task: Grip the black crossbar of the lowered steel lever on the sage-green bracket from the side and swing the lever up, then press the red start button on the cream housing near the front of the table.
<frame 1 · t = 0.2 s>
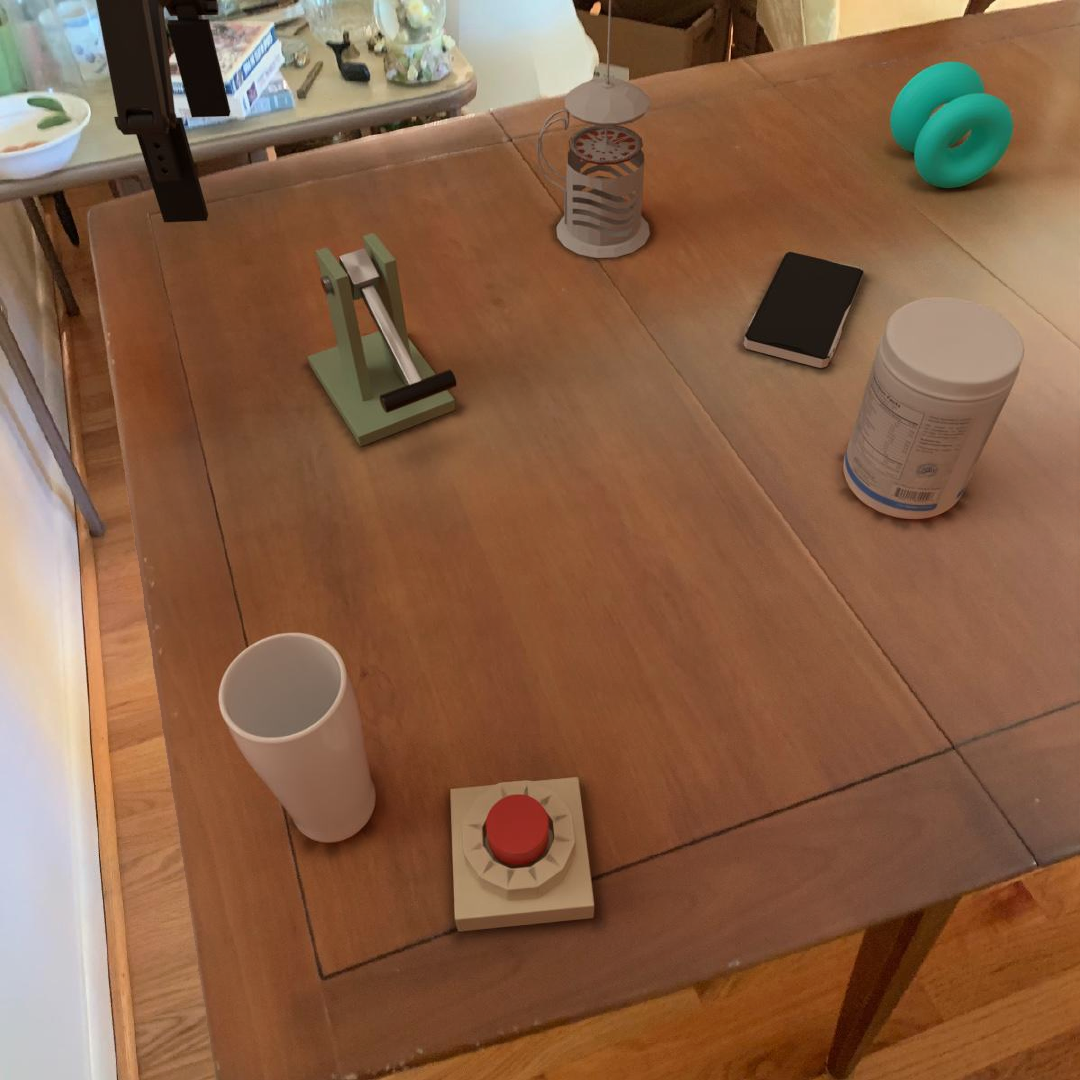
hand: (199, 163, 67), 23 cm above the table, tool pointing down, fingers open, 13 cm apart
french press: (594, 231, 102), on the table
bracket: (381, 387, 87), on the table
supplement tub: (899, 481, 79), on the table
drinking glass: (335, 806, 62), on the table
button: (517, 829, 56), point 4 cm above the table, slide at 0.1 cm
button box: (520, 858, 60), on the table
lever: (386, 328, 77), point 10 cm above the table, hinge at -25.0°
smartphone: (803, 313, 93), on the table
donuts: (935, 170, 108), on the table
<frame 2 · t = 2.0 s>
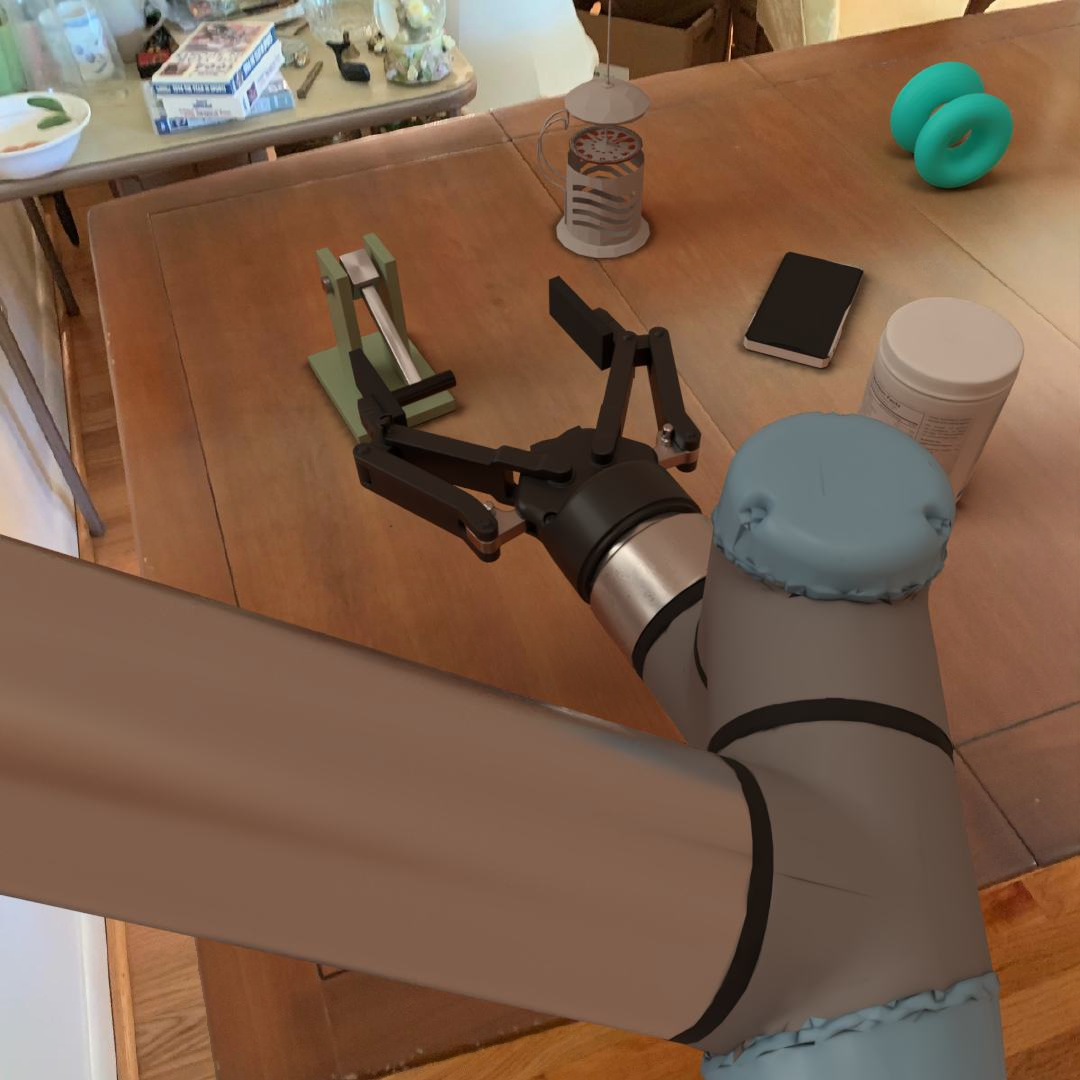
hand: (458, 329, 61), 20 cm above the table, tool horizontal, fingers open, 13 cm apart
nothing on the table moved.
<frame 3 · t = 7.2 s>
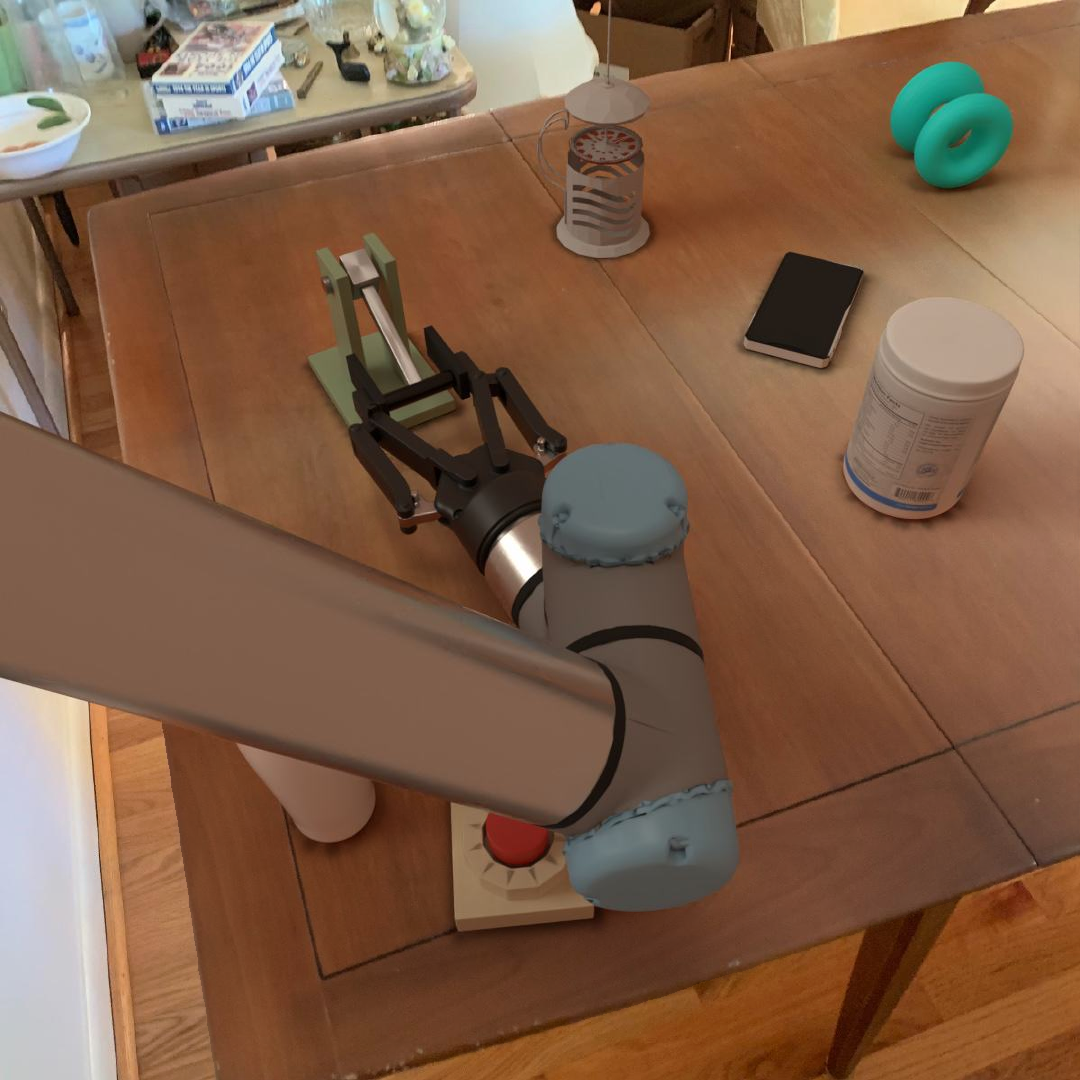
hand: (391, 354, 79), 7 cm above the table, tool horizontal, fingers closed on lever, 6 cm apart
lever: (386, 328, 77), point 10 cm above the table, hinge at -25.0°, touching gripper
everything else where it was.
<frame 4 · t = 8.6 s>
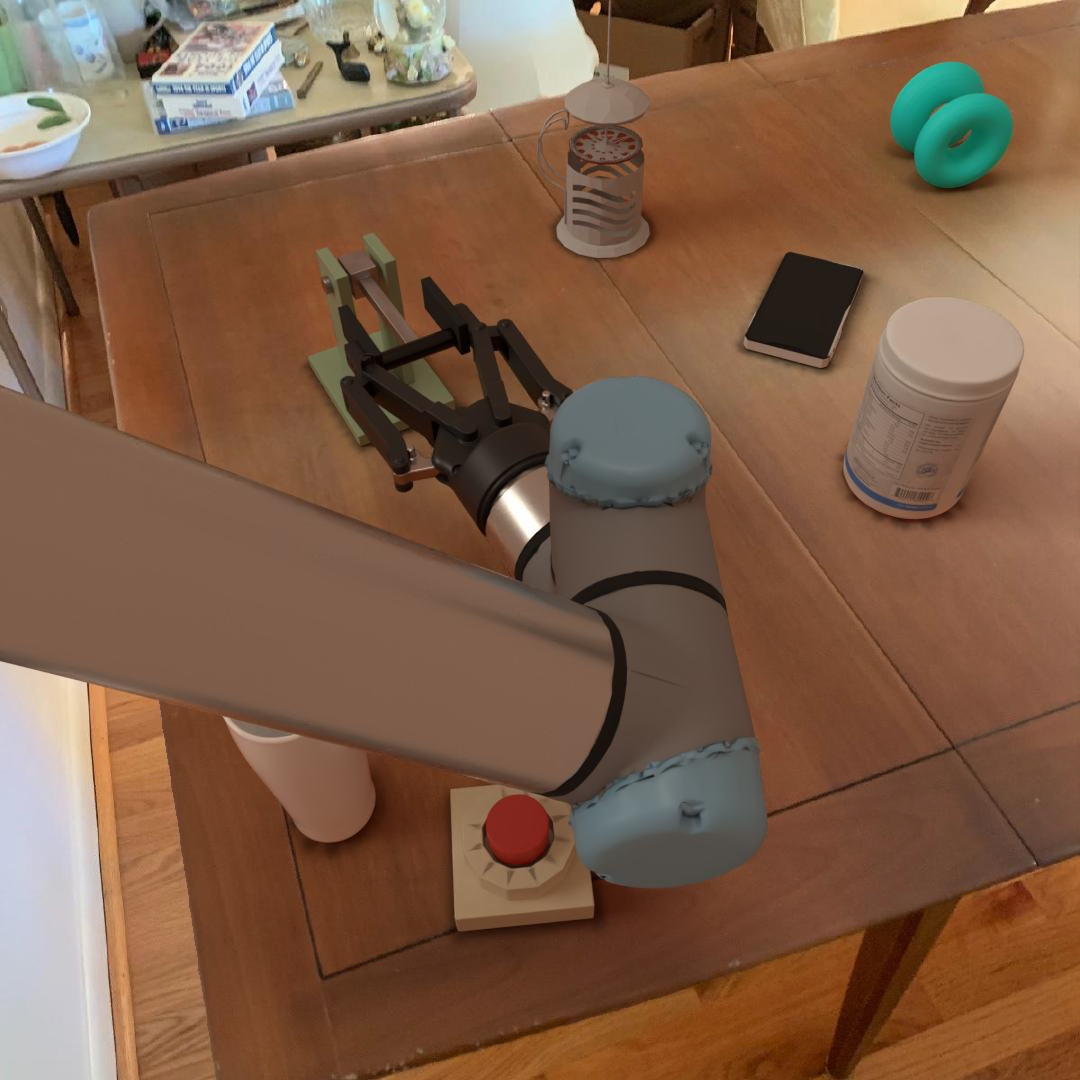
hand: (387, 306, 74), 13 cm above the table, tool horizontal, fingers closed on lever, 6 cm apart
lever: (384, 308, 75), point 12 cm above the table, hinge at 0.9°, touching gripper
everything else where it was.
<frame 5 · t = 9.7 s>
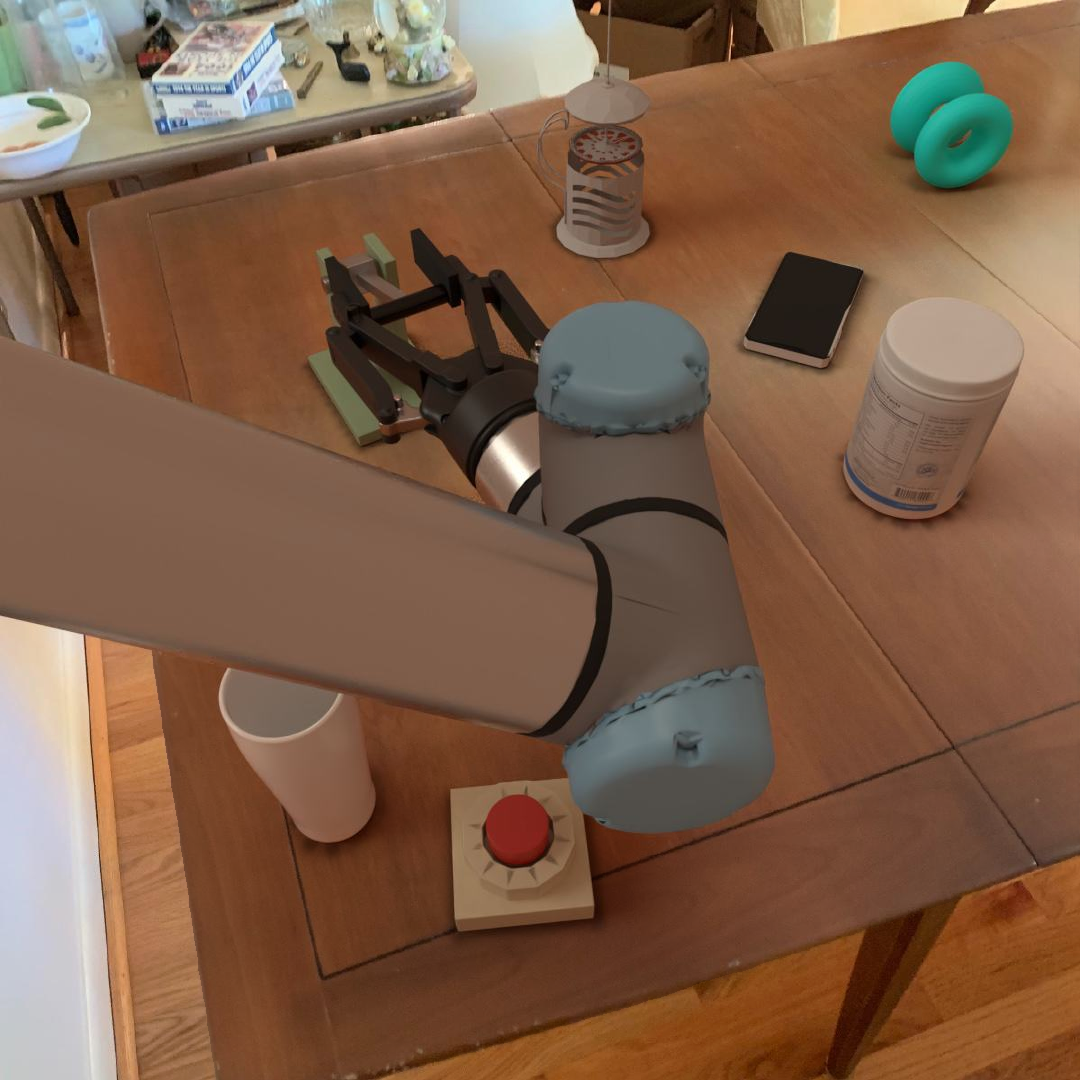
hand: (375, 259, 71), 16 cm above the table, tool horizontal, fingers closed on lever, 6 cm apart
lever: (380, 288, 74), point 14 cm above the table, hinge at 19.5°, touching gripper
everything else where it was.
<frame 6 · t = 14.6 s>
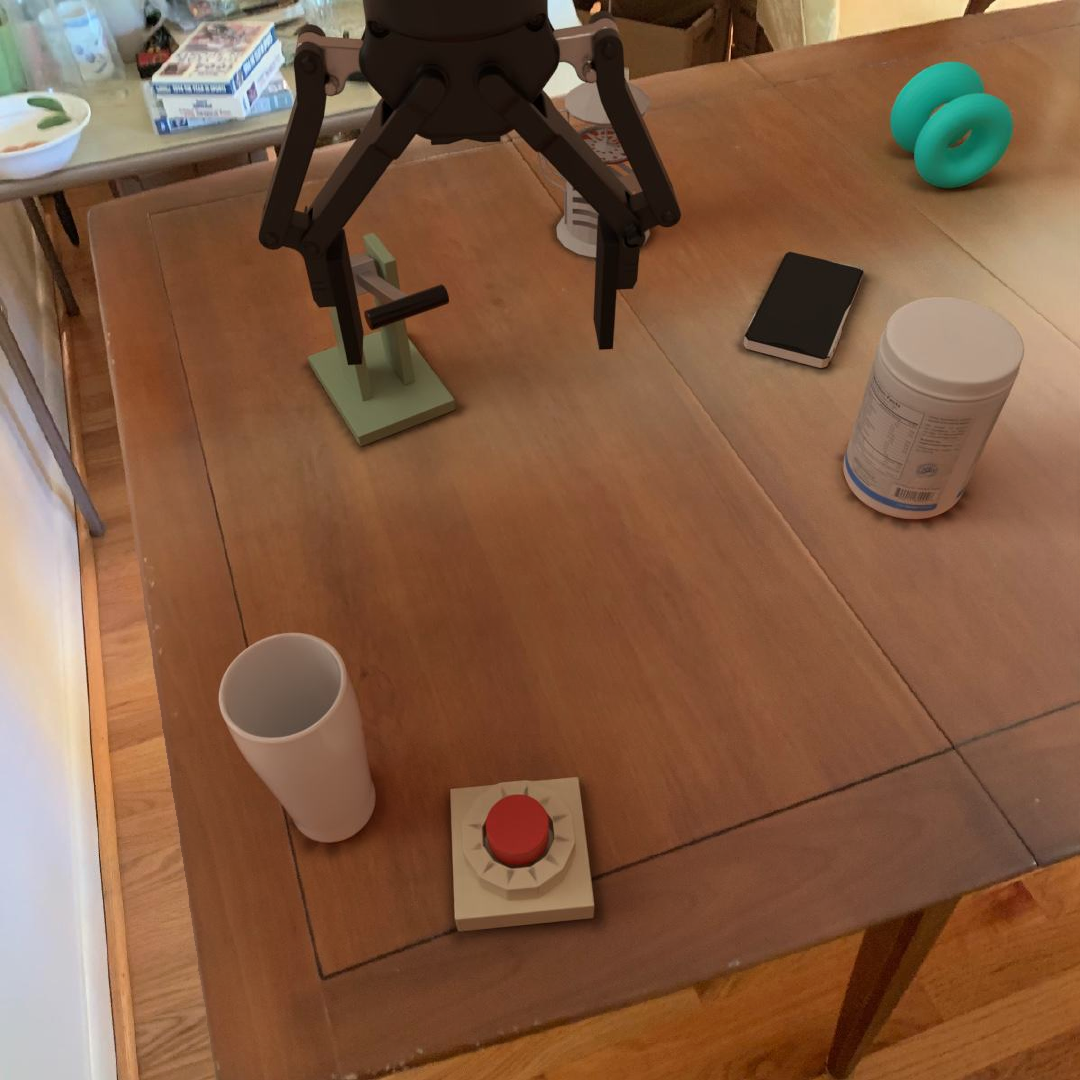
hand: (480, 341, 53), 24 cm above the table, tool pointing down, fingers open, 13 cm apart
lever: (380, 288, 74), point 14 cm above the table, hinge at 19.2°
everything else where it was.
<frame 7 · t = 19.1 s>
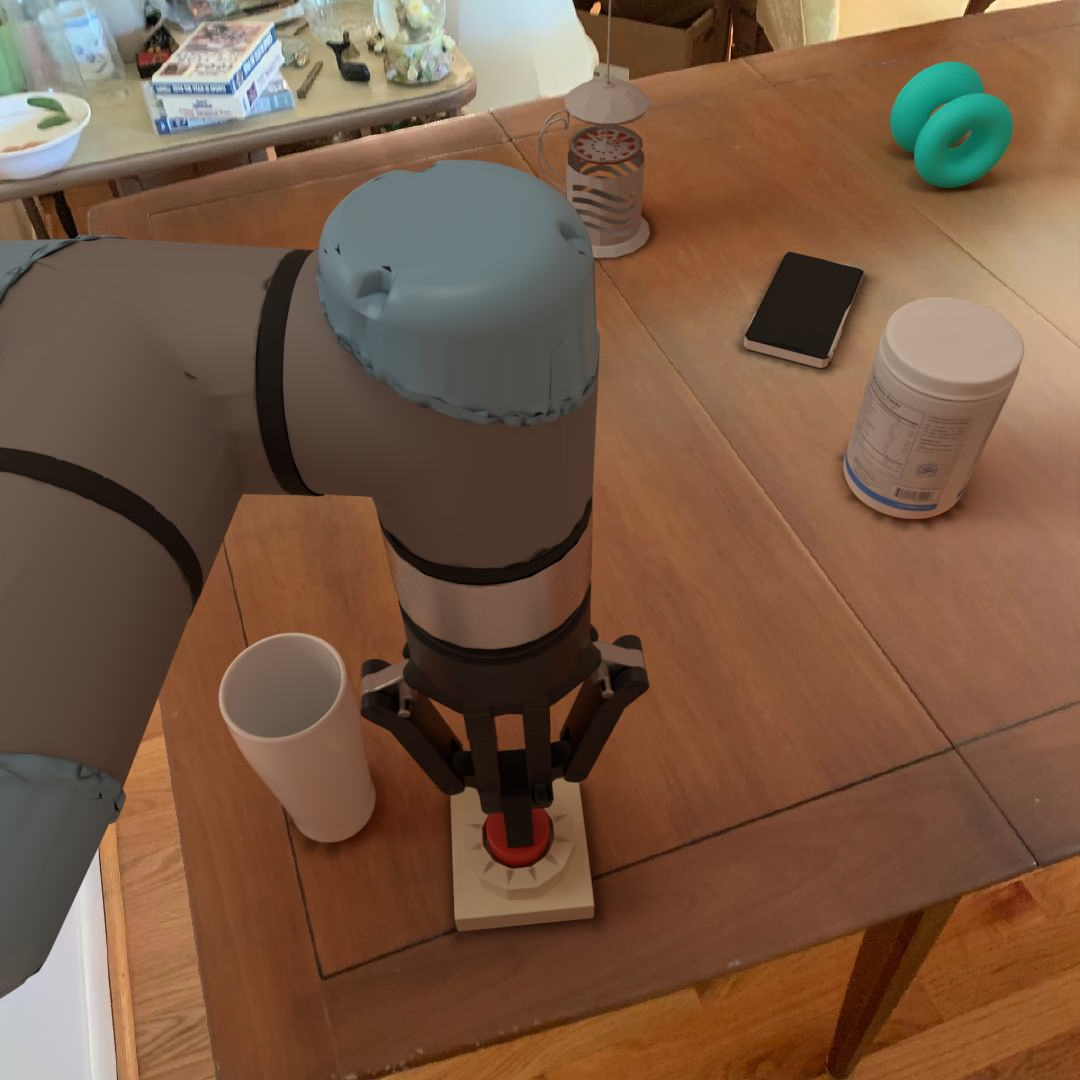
hand: (519, 823, 55), 5 cm above the table, tool pointing down, fingers closed
button: (518, 831, 56), point 4 cm above the table, slide at -0.2 cm, touching gripper
everything else where it was.
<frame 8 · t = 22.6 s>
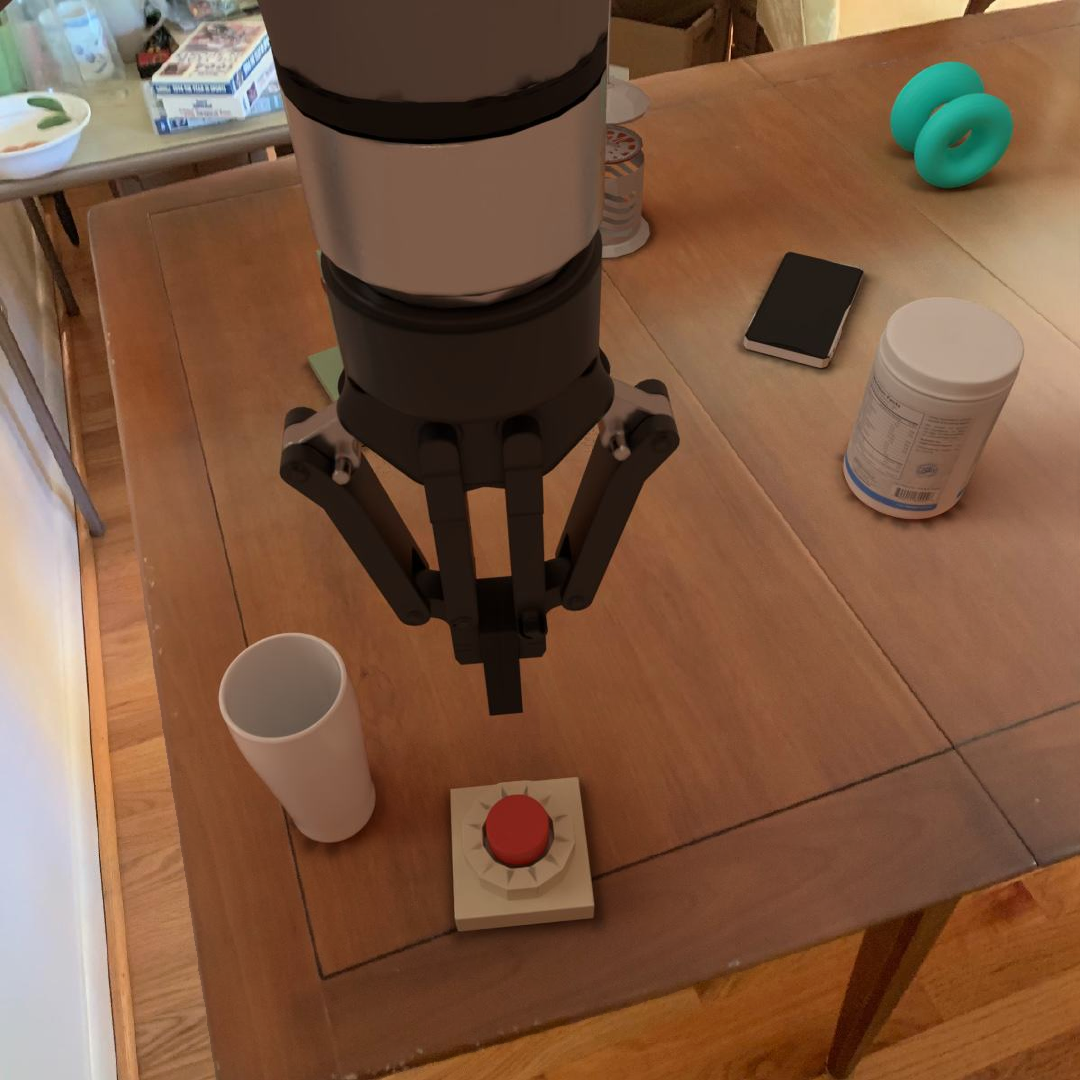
hand: (504, 687, 44), 20 cm above the table, tool pointing down, fingers closed
button: (517, 829, 56), point 4 cm above the table, slide at 0.1 cm
everything else where it was.
at the end: lever at +19° (first picture: -25°); button pushed in 1.0 cm at the most during the clip, back to where it started at the end; button slide at 0.1 cm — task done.
